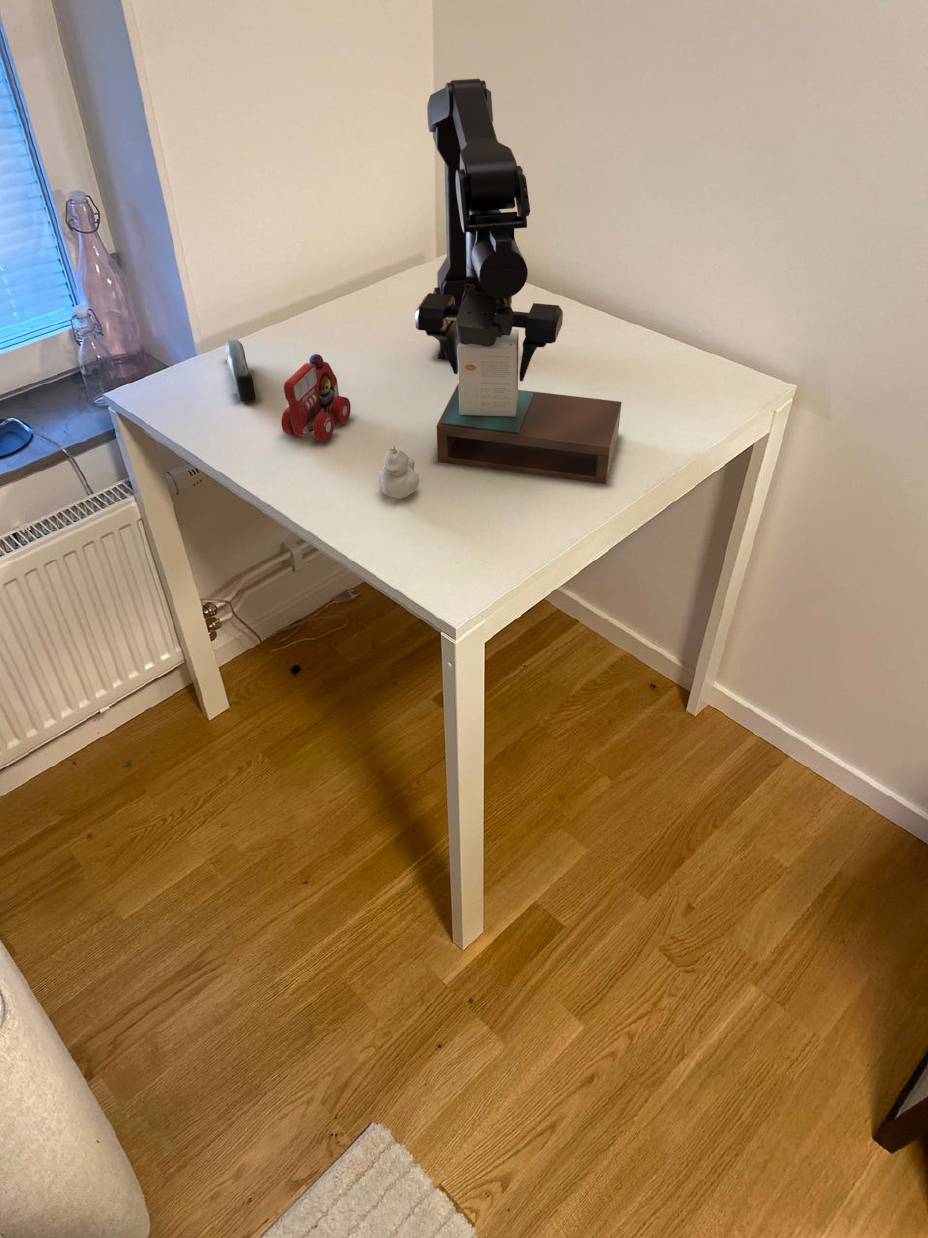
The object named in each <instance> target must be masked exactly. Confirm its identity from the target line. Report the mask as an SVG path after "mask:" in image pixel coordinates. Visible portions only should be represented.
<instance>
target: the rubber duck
mask: <svg viewBox="0 0 928 1238" xmlns="http://www.w3.org/2000/svg"><path fill="white" fill-rule="evenodd" d="M415 461H416V460H415V459H414V458H413V457H410V456H408V454H407V453H405V452H404V451H403V450H402V449H401V450H399V449H397V448H396V446H395V445H393V446H392V447H390V448H389V449H388V451H387V453H386V455H385V457H384V467H383V468H382V469H381V471H379V474H378V481H379V485H380V486H381V490H382V493H383V494H385V496H388V497H391V498H394V499H405V498H407V497H408V496H409V495H411V494H413V493H414V492H415V491H416V490H417V489H418V487H419V485H420V476H419V474H418V473H417V472H415V465H416V462H415Z"/></svg>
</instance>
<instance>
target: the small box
mask: <svg viewBox="0 0 928 1238" xmlns="http://www.w3.org/2000/svg"><path fill="white" fill-rule="evenodd" d="M519 333H520V332H519V328H512V330H511V334H510V335H509V336H507V335H503V336H502V337H501V338H497V337H496V342H495V344H494V345H492V346H489V347H484V346H482V345H476V344H468V345H465V344H461V343H460V342H458V347H457V352H458V374H457V376H458V378H457V380H458V383H459V406H460V415H476V416H512V417H515V416H516V410H517V401H518V390H519V346H520V345H519V344H520V343H519V341H520V339H519V336H520V335H519Z"/></svg>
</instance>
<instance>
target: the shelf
mask: <svg viewBox="0 0 928 1238" xmlns="http://www.w3.org/2000/svg"><path fill="white" fill-rule="evenodd" d="M622 404H623V403H622V401H618V400H611V399H601V398H593V397H586V396H585V397H584V396H576V395H575V396H574V395H569V394H568V395H567V394H560V393H559V394H558V393H549V392H541V391H532V390H523V389H518V401H517V410H516V416H515V417H512V416H476V415H460V406H459V382H458V383H457V384H456V386H455V388H454V390H453V392H452V395H451V397H450V398H449V400H448V402H447V404H446V406H445V408H444V410H443V412H442V414H441V416H440V418H439V419H438V421H437V423H436V426H435V427H436V446H437V447H436V448H437V450H436V451H437V462H438V463H445V464H452V465H458V466H467V467H474V468H481V469H489V470H495V471H504V472H510V473H519V474H526V475H534V476H541V477H549V478H557V479H563V480H571V481H578V482H579V481H580V482H587V483H596V484H602V485H606V484H607V482H608V478H609V473H610V470H611V465H612V462H613V458H614V454H615V450H616V446H617V442H618V439H619V431H620V430H619V429H620V421H621V412H622Z"/></svg>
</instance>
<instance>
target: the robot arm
mask: <svg viewBox="0 0 928 1238" xmlns="http://www.w3.org/2000/svg"><path fill="white" fill-rule="evenodd" d="M492 99H493V98H492V91H491V90H490V89H488V88H487V84H486V81H485V80H482V79H480V78H468V79H451V80H450V81H449V82H446V83H445V86H444V87H443V88H441V89H440V90H438V91H435V92H434V93H431V94H430V95H429V97H428V102H427V107H426V108H427V109H426V111H427V114H426V115H427V126H428V132H429V133H432V139H433V142H434V144H435V148H436V150H437V152H438V153H439V156H440V157H441V158H442V160H443V162H444V190H445V191H444V195H445V199H444V201H445V202H444V203H445V240H446V243H445V244H446V257H445V259H444V260H443V263H442V264H441V265H440V268H439V270H438V271H437V274H436V278H437V281H436V282H437V283H436V284H437V287H433V292H432V293H431V292H428V293H427V294H426V295H425V296H424V297H423V299H422V300H421V302H420V304H419V305H418V306H417V308H416V309H415V315H414V318H415V319H414V321H415V328H416V329H417V330H418V331H424V332H425V334H426V336H428V337H432V338H434V339H436V340H437V341H438V342H439V351H438V353H437V355H436V358H437V359H438V360H443V361H448V362H449V365H450V367H451V369H452V372H453V374H454V375H458V352H457V347H458V342H460V343H461V344H465V345H468V344H476V345H482V346H484V347H489V346H492V345H494V344H495V342H496V337H497V338H501V337H502V336H503V335H507V336H509V335H510V334H511V330H512V329H513V328H518V329H520V328H521V329H524V336H525V337H524V339H523V341H522V352H521V353H522V354H521V359H520V365H519V382H523V381H524V379H525V377H526V374H527V371H528V368H529V367H530V366H529V365H530V363H531V360H532V357H533V356H534V354H535V352H536V350H537V349H538V348H544V347H546V346H547V344H554V343H556V341H557V339H558V337H559V334H560V331H561V329H562V326H563V319H564V318H563V317H564V316H563V315H564V312H563V310H562V308H561V307H560V305H558V304H549V303H536V302H533V303H532V304H531V307H530V309H529V312H526V311H516V310H515V311H514V310H513V308H512V303H513V296H515V295H517V294H518V293H519V292H520V291H521V290H522V289H523V288H524V287H525V285H526V282H527V281H528V274H529V273H528V271H529V270H528V269H529V268H528V265H527V263H526V261H525V258H524V256H523V255H522V252H521V250H520V248H519V246H518V244H517V242H516V239H515V229H516V230H517V229H527V228H528V219H527V217H529V216H530V213H531V205H530V198H529V192H528V183H527V176H526V175H525V174H524V171H523V170H524V169H523V167H522V166H521V165H518V164H517V160H516V157H515V154H514V153H513V151H512V149H511V148H510V147H509V146H507V145H505V144H503V143H501V142H499V139H498V137H497V135H496V130H495V126H494V123H493V122H494V113H493V100H492ZM515 207H516V210H517V211H504V212H502V211H501V210H511V209H512V210H513V209H515Z"/></svg>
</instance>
